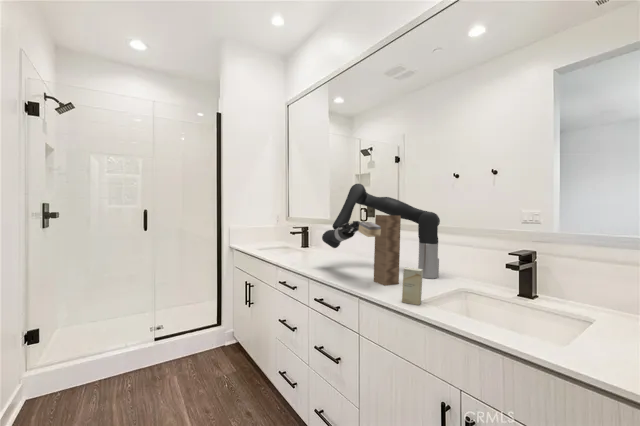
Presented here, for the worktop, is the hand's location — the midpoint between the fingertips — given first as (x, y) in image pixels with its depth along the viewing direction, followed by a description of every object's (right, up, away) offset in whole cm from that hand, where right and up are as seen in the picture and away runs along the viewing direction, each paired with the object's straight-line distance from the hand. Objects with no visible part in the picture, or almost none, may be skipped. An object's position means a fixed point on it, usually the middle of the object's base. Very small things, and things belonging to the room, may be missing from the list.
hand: (361, 223), depth 131 cm
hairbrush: (+1, -3, -2) cm, 4 cm away
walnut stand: (+12, -27, +3) cm, 30 cm away
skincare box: (+15, -28, -26) cm, 41 cm away
